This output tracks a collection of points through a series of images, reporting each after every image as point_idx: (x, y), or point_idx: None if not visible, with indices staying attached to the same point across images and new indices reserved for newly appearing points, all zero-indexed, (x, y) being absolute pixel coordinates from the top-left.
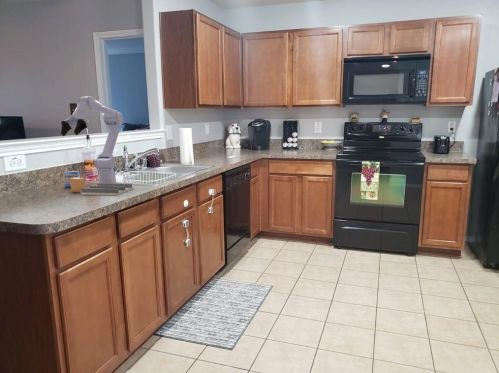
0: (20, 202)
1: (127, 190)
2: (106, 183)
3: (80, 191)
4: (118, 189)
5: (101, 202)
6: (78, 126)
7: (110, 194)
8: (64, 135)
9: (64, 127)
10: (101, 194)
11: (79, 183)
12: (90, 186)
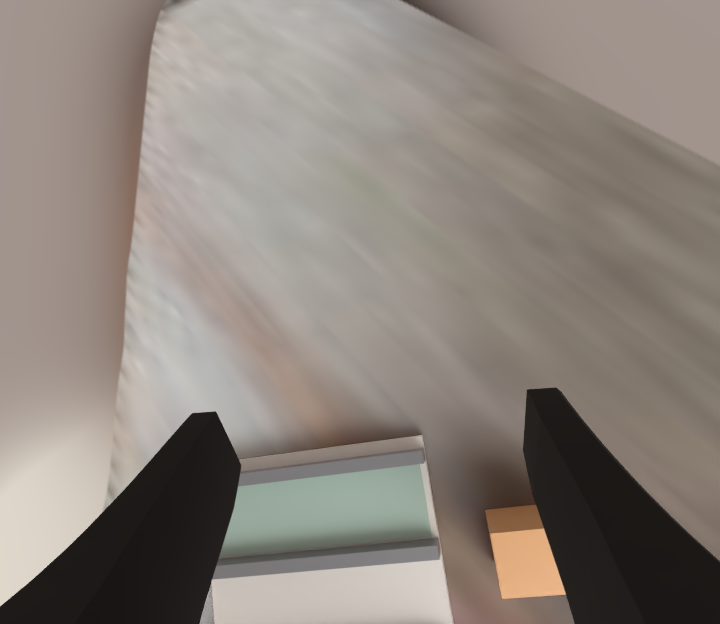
0: (589, 177)
1: (215, 591)
2: None
3: (491, 509)
4: (245, 558)
5: (188, 306)
6: (74, 552)
7: (240, 459)
8: (527, 459)
9: (603, 567)
10: (292, 452)
11: (498, 523)
12: (430, 545)
